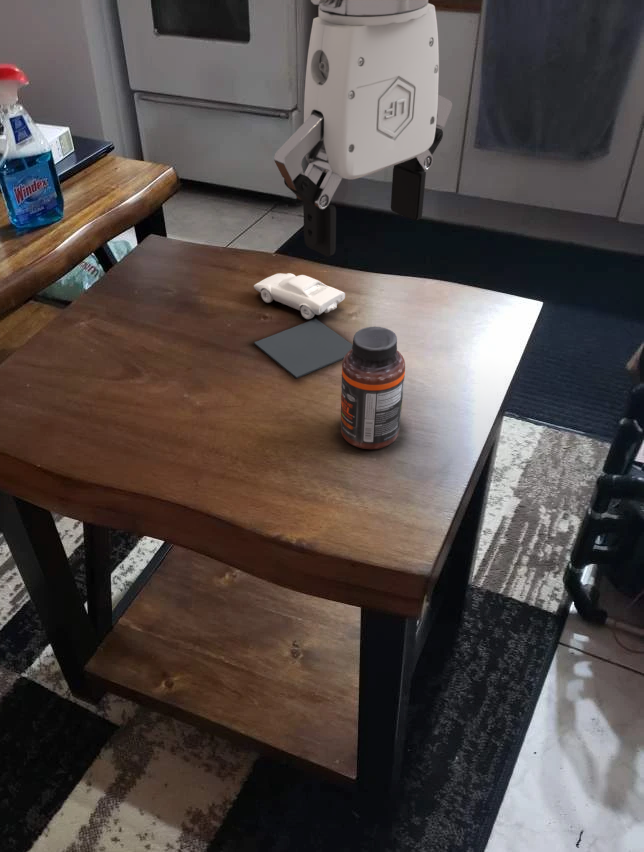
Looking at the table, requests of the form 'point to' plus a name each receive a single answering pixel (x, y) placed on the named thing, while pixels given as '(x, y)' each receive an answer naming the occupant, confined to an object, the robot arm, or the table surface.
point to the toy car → (300, 293)
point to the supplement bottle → (372, 389)
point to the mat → (305, 348)
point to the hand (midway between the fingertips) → (364, 232)
